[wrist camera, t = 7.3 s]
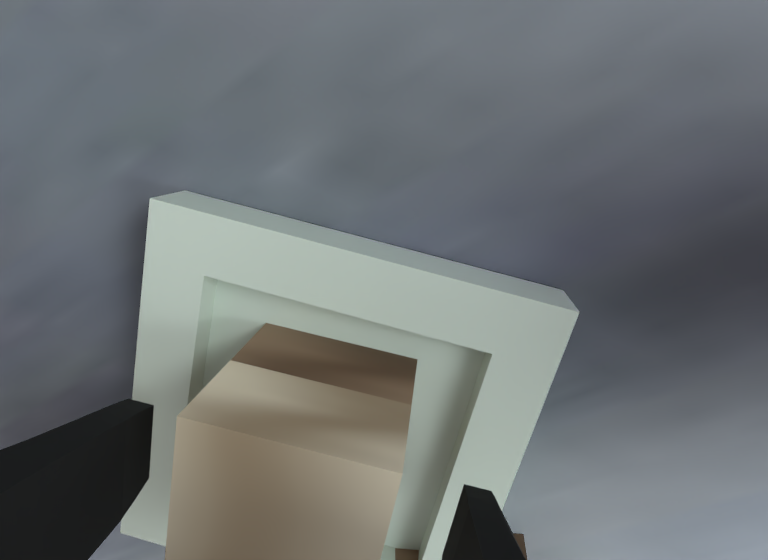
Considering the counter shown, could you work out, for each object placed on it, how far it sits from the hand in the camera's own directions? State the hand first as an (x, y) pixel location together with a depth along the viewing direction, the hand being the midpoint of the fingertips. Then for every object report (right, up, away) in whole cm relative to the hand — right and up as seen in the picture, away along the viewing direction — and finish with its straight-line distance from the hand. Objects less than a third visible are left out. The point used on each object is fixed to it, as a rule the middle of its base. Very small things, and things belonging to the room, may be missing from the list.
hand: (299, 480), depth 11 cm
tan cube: (0, +1, +2) cm, 2 cm away
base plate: (0, +1, +3) cm, 3 cm away
